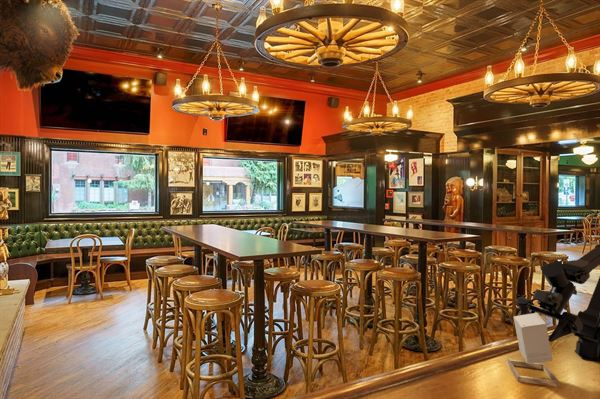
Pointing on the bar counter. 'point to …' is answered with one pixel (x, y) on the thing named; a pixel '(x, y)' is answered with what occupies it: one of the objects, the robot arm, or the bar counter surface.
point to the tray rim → (540, 381)
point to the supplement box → (533, 338)
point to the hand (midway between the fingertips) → (534, 335)
